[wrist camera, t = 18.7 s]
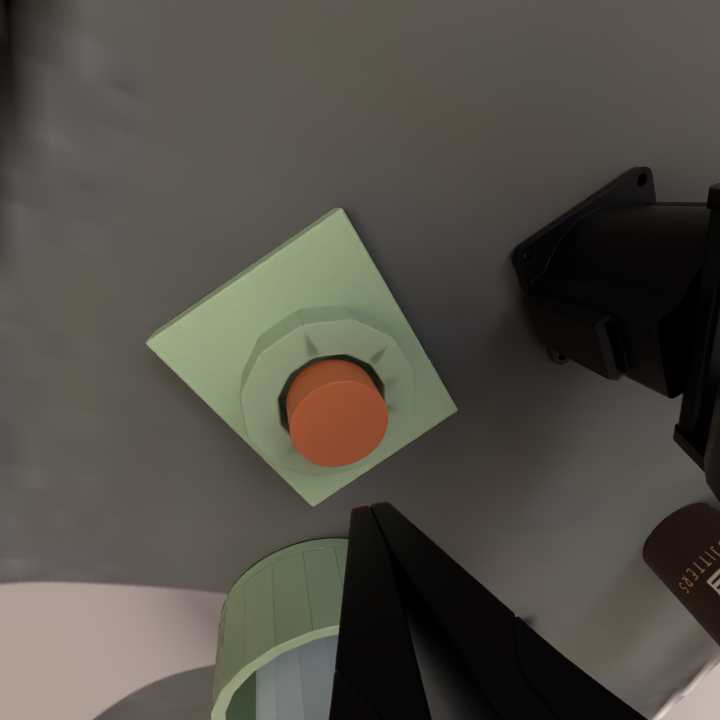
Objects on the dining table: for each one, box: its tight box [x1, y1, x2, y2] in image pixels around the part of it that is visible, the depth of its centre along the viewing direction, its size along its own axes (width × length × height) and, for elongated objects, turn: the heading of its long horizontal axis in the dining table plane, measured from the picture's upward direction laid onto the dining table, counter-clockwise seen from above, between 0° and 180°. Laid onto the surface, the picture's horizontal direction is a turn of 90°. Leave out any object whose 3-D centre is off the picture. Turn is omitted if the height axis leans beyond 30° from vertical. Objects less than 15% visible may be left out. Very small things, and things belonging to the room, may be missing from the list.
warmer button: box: [286, 359, 389, 467], centre depth 13 cm, size 3×3×2 cm
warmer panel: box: [146, 208, 457, 507], centre depth 14 cm, size 8×10×3 cm
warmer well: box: [211, 538, 348, 720], centre depth 19 cm, size 10×10×4 cm
